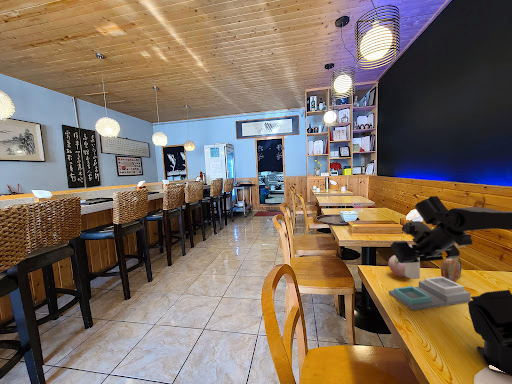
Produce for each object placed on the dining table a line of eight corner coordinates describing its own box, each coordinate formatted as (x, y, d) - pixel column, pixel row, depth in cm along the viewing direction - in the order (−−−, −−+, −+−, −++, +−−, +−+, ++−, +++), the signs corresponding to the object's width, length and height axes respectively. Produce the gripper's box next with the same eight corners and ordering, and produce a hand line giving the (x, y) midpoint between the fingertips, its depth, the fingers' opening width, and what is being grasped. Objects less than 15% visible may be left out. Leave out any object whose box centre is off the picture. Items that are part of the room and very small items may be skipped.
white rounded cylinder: (422, 278, 70) (423, 248, 69) (411, 279, 69) (411, 249, 69) (410, 271, 75) (410, 243, 74) (399, 272, 74) (399, 244, 74)
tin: (449, 287, 78) (450, 265, 78) (438, 284, 81) (439, 262, 80) (462, 275, 87) (462, 255, 86) (451, 272, 89) (452, 252, 89)
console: (413, 310, 67) (413, 297, 66) (388, 293, 77) (388, 281, 76) (470, 301, 70) (470, 288, 69) (439, 286, 80) (439, 274, 79)
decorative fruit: (392, 270, 94) (392, 247, 93) (415, 276, 88) (415, 252, 87) (385, 277, 88) (385, 253, 87) (409, 284, 82) (409, 259, 81)
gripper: (450, 212, 67) (420, 237, 79) (394, 216, 65) (371, 241, 77) (478, 245, 60) (440, 267, 71) (416, 251, 58) (387, 272, 70)
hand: (408, 261), depth 73 cm, fingers closed on white rounded cylinder, 4 cm apart
